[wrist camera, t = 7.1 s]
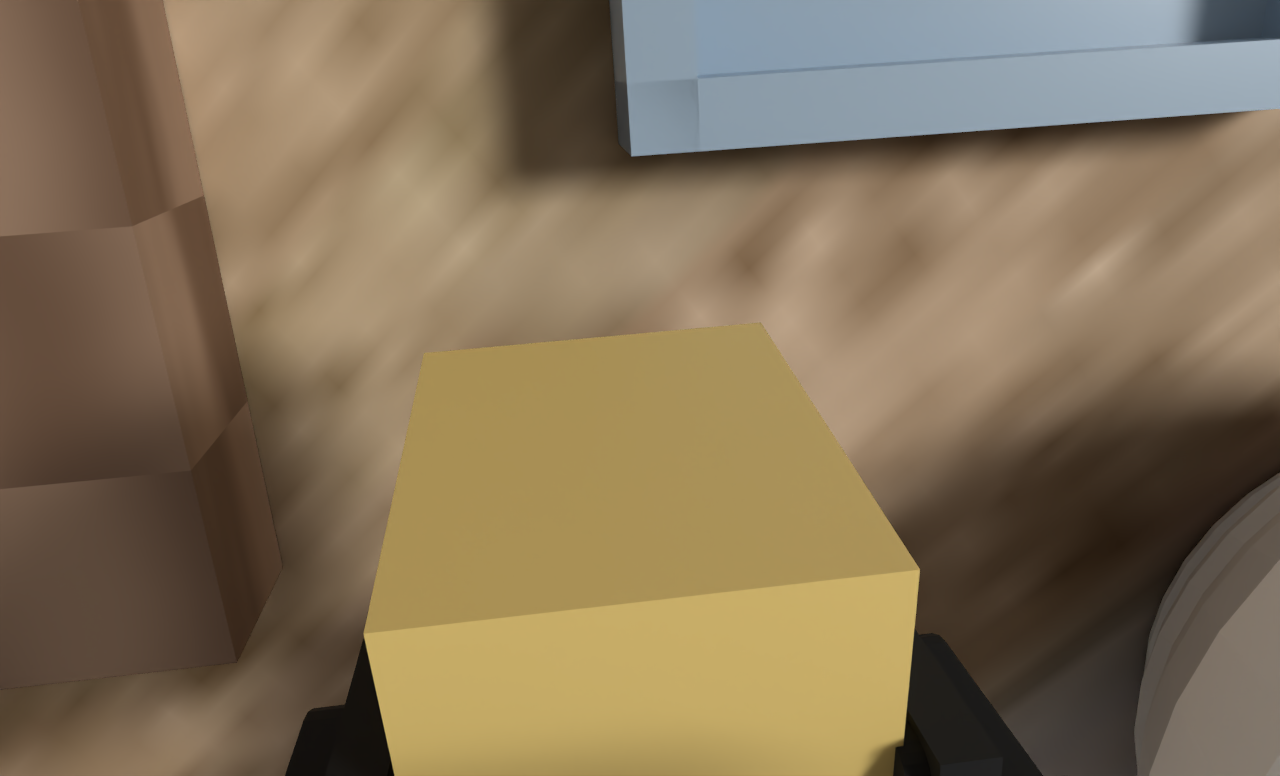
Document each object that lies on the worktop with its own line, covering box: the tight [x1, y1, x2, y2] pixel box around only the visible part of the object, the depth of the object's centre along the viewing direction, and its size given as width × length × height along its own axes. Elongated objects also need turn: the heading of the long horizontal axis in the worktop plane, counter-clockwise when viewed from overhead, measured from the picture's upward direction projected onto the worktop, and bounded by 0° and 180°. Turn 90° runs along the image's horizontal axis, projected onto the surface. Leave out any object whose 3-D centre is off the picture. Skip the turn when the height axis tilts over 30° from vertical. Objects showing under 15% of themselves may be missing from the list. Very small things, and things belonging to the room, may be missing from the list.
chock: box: [364, 323, 920, 776], centre depth 10 cm, size 4×6×5 cm, turn 4°
